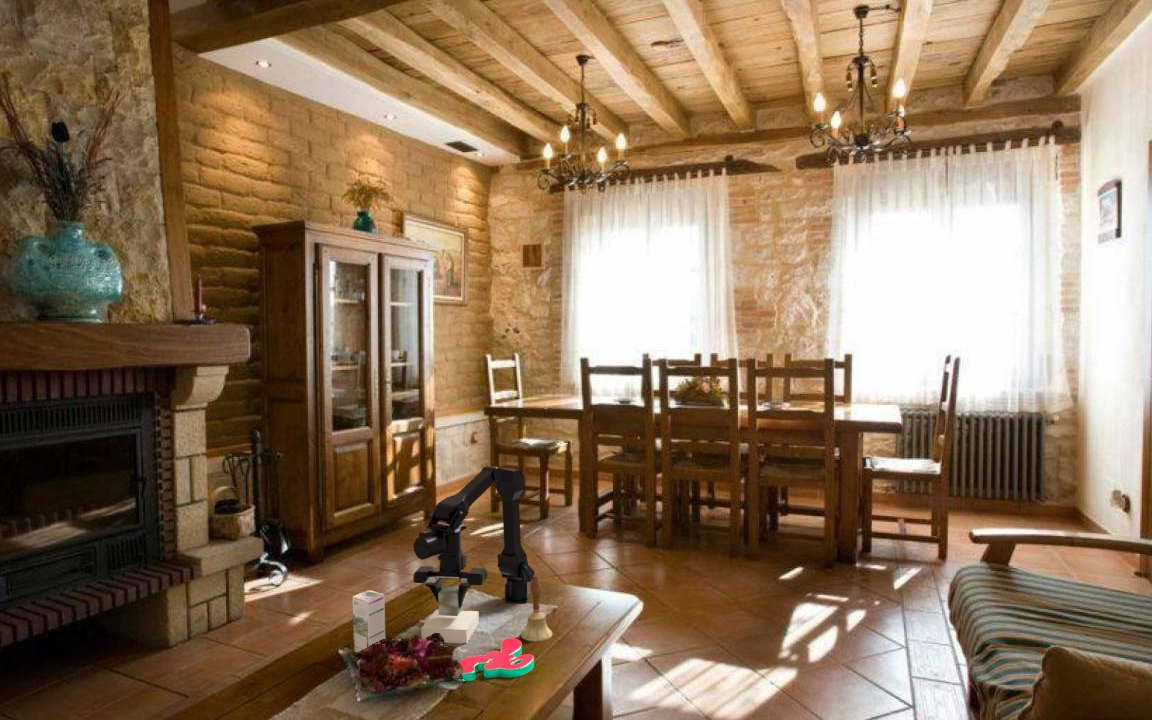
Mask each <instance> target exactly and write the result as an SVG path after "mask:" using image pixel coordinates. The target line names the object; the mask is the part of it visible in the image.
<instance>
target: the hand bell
mask: <svg viewBox="0 0 1152 720" xmlns="http://www.w3.org/2000/svg"><path fill="white" fill-rule="evenodd" d="M541 586H542V585H541V582H540V578H539V575H537V574H534V576H533V579H532V580H531V582H530V591H531V593H530V594H531V596H532V599H533V602H532V605H533V606H532V608H533V609H532V610H533V611H532V612H530V613H529V614H528V616H527V623H526V626H525V628H524V629H523V630H522V632H521V634H520V636H521V637H520V638H522V639H523V640H524V639H525V640H524V641H527V642H530V641H531V642H532V643H533V642H534V643H539V642H545V641H547V640H550V639H551V638H552V637H553V631H552V630H551V629H550V628H549V627H548V625H547V621H546V614H545V613H544V612H542V611H541V608H540V596H541V591H542V587H541Z"/></svg>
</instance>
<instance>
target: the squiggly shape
mask: <svg viewBox="0 0 1152 720" xmlns="http://www.w3.org/2000/svg"><path fill="white" fill-rule="evenodd" d="M499 648H500V649H499V650H500V651H498V650H492V651H489V652H487V653H485V655H474V656H469V657H466V658H463V659H461V660H460V661H458V662H460V663H461V665H462V667H463V670H464V671H463V673H462V676H463V679H464V680H465V681H466V682H471V681H474V680H476V674H475V673H476V672H477V673H478V672H483V677H484V678H489V679H490V678H498V677H502V678H519V677H522V676H524V675H526V674H528V673H529V672H531V671H532V670H533V669H534V667H535V656H534V655H533V654H530V653H528V654H522V653H523V643H522V641H521V640H519V639H517V638H515V637H514V638H513V637H510V638H509V637H508V638H505V639H503V640H502V641H501V642H500V646H499Z"/></svg>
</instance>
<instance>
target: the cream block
mask: <svg viewBox="0 0 1152 720" xmlns="http://www.w3.org/2000/svg"><path fill="white" fill-rule="evenodd" d="M479 616H480V612H479V611H478V610H477V611H476V610H461V612H460V613H459V614H458V616H443V615H439V609H435V610H434V611H433V613H432V614H431V615H430V617H428V619H427V620H426V622H425V623H424V624H423V625H422V626H421V630H420V631H421V639H422V638H426V637H428V636H430V635H432V634H434V633H440V634H441V635H442V636H443V637H444V640H445V642H446V643H448V644H463V643H467V644H468V643H469V641H470V639H471V638H472V636H473V635H472V634H474V633H475V631H476V630H477V628H478V627H477V625H478V624H479V625H480V622H479V621H480V617H479ZM479 625H478V626H479ZM476 627H477V628H476ZM475 629H476V630H475ZM474 630H475V631H474ZM473 632H474V633H473ZM471 635H472V636H471ZM470 637H471V638H470ZM468 640H469V641H468ZM446 643H445V644H446Z"/></svg>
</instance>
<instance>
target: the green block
mask: <svg viewBox="0 0 1152 720" xmlns="http://www.w3.org/2000/svg"><path fill="white" fill-rule="evenodd" d="M438 598H439V604H438V610H439V615H443V616H458V614H459V613H460V612H461V611H463V608H464V606H463V604H462V607H461V608H459V585H458V586H457V585H455V586H452V585H443V586H442V589H441V590H440V592H439V593H438Z"/></svg>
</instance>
